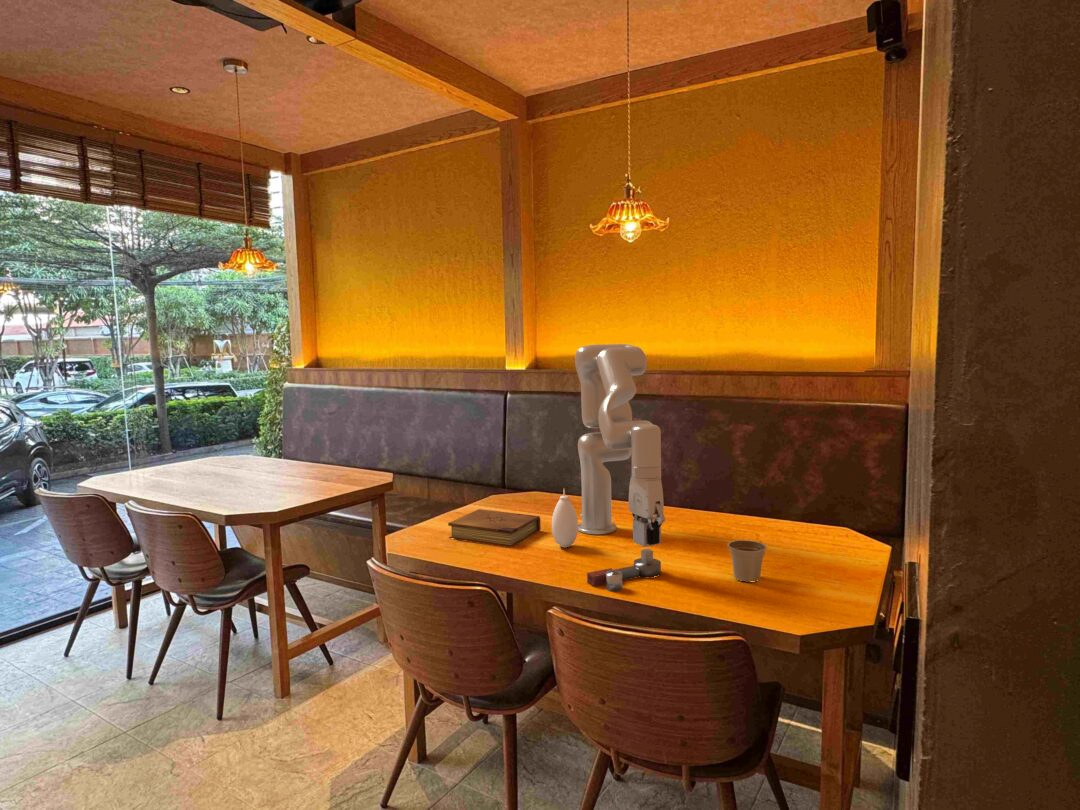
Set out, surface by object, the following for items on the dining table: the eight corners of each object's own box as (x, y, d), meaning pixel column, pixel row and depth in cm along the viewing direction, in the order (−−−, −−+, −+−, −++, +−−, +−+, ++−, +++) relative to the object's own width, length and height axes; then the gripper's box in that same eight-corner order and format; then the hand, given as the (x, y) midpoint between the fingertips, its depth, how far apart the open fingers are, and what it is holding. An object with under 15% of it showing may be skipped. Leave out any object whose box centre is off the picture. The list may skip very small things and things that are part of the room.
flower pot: (736, 569, 172) (736, 537, 172) (772, 577, 167) (772, 544, 166) (721, 580, 165) (721, 546, 164) (758, 588, 159) (758, 553, 158)
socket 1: (603, 587, 162) (602, 571, 162) (617, 584, 164) (616, 568, 164) (611, 593, 159) (611, 576, 158) (625, 590, 160) (625, 573, 160)
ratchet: (583, 580, 168) (583, 556, 167) (650, 567, 176) (650, 544, 175) (597, 589, 161) (596, 565, 161) (666, 575, 170) (666, 552, 169)
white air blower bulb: (576, 551, 190) (575, 490, 188) (550, 550, 192) (548, 490, 190) (580, 543, 198) (579, 484, 196) (554, 542, 199) (553, 484, 198)
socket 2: (633, 541, 172) (632, 518, 171) (649, 538, 174) (649, 515, 173) (644, 546, 167) (643, 522, 166) (661, 543, 169) (660, 520, 168)
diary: (540, 532, 212) (540, 515, 211) (511, 549, 196) (511, 531, 195) (480, 524, 223) (480, 507, 222) (448, 539, 206) (448, 522, 206)
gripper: (616, 468, 175) (617, 534, 177) (652, 479, 159) (653, 552, 161) (640, 465, 178) (641, 530, 180) (678, 476, 162) (678, 547, 164)
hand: (647, 540), depth 170 cm, fingers closed on socket 2, 5 cm apart
